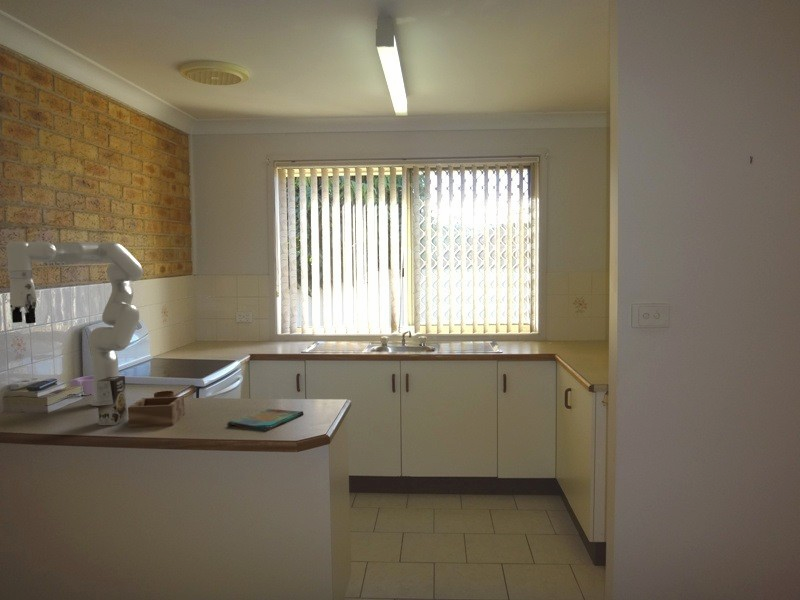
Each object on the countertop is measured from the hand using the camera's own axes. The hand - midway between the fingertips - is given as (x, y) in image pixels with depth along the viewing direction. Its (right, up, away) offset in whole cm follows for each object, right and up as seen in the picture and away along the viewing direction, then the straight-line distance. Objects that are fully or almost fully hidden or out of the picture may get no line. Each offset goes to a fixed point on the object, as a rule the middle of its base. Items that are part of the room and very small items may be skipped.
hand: (24, 322), depth 225 cm
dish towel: (+90, -36, -5) cm, 97 cm away
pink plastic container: (-1, -34, +56) cm, 65 cm away
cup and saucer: (+44, -35, +20) cm, 59 cm away
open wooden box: (+49, -36, -1) cm, 61 cm away
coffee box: (+33, -36, -1) cm, 49 cm away
